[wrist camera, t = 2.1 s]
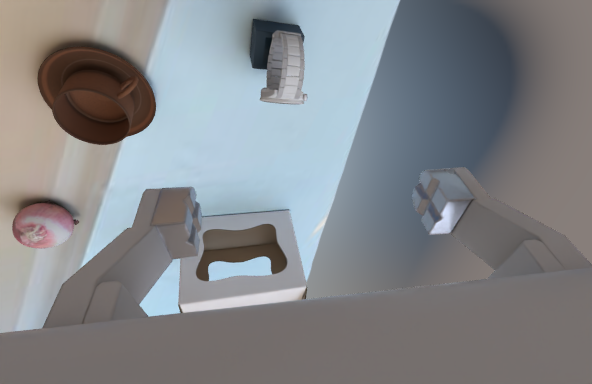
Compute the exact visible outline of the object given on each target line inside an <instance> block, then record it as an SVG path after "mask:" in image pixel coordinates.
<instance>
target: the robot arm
mask: <svg viewBox="0 0 592 384" xmlns="http://www.w3.org/2000/svg"><path fill="white" fill-rule="evenodd" d="M419 180H420V182H421V183H420V184H418V185H417V186H416V187H415V188H414V191H413V193H412V201H413V205H414V208H415V209H416V211H417V212H418V213H420V214H421V215H423V217H422V223H423V224H424V226H425V228H426V230H427V232H428V234H429V235H432V234H447V233H451V235H452V236H453V237H455V238H456V239H457V240H458V241H460V242H461V243H462V244H463V245H464V246H466V247H467V248H468V249H469V250H471V251H472V252H473V253H474V254H476V255H477V256H478V257H479V258H481V259H482V260H483V261H484V262H485V263H487V264H488V265H489V266H490V267H492V268H493V269H494V270H495V271H494V272H493V273H492V274H491V275H490V276H489V277H488V279H483V280H474V281H466V282H456V283H447V284H438V285H429V286H420V287H411V288H402V289H393V290H384V291H375V292H367V293H357V294H348V295H340V296H330V297H321V298H313V299H303V300H295V301H286V302H277V303H268V304H259V305H250V306H241V307H232V308H223V309H214V310H205V311H196V312H187V313H178V314H169V315H160V316H151V317H148V315H147V314H146V313H145V312H144V310H143V309H142V308H141V307H140V306H139V304H140V303H141V301H142V300H143V299H144V297H145V296H146V295H147V293H148V292H149V291H150V289H151V288H152V287H153V286H154V284H155V283H156V282H157V280H158V279H159V278H160V276H161V275H162V274H163V272H164V271H165V270H166V268H167V267H168V266H169V265H170V263H171V262H172V259H178V258H187V257H195V256H198V251H199V244H200V239H199V236H198V232H199V231H200V230H201V227H202V213H201V208H200V204H199V203H198V202H196V192H195V189H194V188H193V187H178V188H162V189H146V190H145V191H144V193H143V195H142V198H141V201H140V204H139V208H138V211H137V214H136V217H135V220H134V223H133V226H132V228H127V229H126V230H124V231H123V232H122V233H121V234H120V235H119V236H118V237H116V238H115V239H114V240H113V241H112V242H111V243H109V244H108V245H107V246H106V247H105V248H104V249H103V250H101V251H100V252H99V253H98V254H97V255H96V256H94V257H93V258H92V259H91V260H90V261H89V262H88V263H86V264H85V265H84V266H83V267H82V268H81V269H80V270H78V271H77V272H76V273H75V274H74V275H73V276H71V277H70V278H69V279H68V280H67V281H66V282H65V283H63V284H62V286H61V288H60V291H59V293H58V295H57V297H56V299H55V302H54V304H53V306H52V308H51V310H50V313H49V315H48V317H47V319H46V321H45V323H44V326H43V328H42V329H33V330H24V331H15V332H6V333H0V384H592V264H591V263H590V262H589V261H588V260H587V259H586V258H585V257H584V256H583V255H582V253H581V252H580V251H579V250H578V249H577V248H576V247H575V246H574V245H573V244H572V243H571V241H570V240H569V239H568V238H567V237H566V236H565V235H563V234H561V233H559V232H557V231H556V230H554V229H552V228H550V227H548V226H546V225H544V224H542V223H541V222H539V221H537V220H535V219H533V218H531V217H529V216H528V215H526V214H524V213H522V212H520V211H518V210H516V209H514V208H512V207H511V206H509V205H507V204H505V203H503V202H501V201H499V200H497V199H495V198H490V196H489V195H488V194H487V193H486V192H485V190H484V189H483V188H482V187H481V185H480V184H479V183H478V182H477V180H476V179H475V178H474V177H473V176H472V174H471V173H470V172H469V170H468V169H466V168H464V167H460V168H450V169H437V170H424V171H423V172H422V173H421V174H420V177H419Z"/></svg>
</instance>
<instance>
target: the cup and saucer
mask: <svg viewBox="0 0 592 384" xmlns="http://www.w3.org/2000/svg"><path fill="white" fill-rule="evenodd" d="M38 86H39V90H40V92H41V95H42V97H43V98H44V100H45V102H46V103H47V105H48V106H49V107H50V108H51V109H52V112H53V116H54V118H55V120H56V122H57V123H58V124H59V126H60V127H61V128H62V129H63V130H65V131H66V132H67V133H68V134H70V135H71V136H73V137H75V138H77V139H79V140H82V141H84V142H88V143H92V144H99V145H107V144H113V143H117V142H119V141H121V140H123V139H124V138H125V137H127V136H131V135H134V134H137V133H139V132H141V131H143V130H144V129H145V128H147V127H148V126H149V125H150V123H151V122H152V120H153V118H154V116H155V112H156V102H155V97H154V94H153V91H152V89H151V87H150V85H149V83H148V82H147V80H146V79H145V78H144V76H143V75H142V74H141V73H140V72H139V71H138V70H137V69H136V68H135V67H133V66H132V65H131V64H129V63H128V62H127V61H125V60H123V59H122V58H120V57H118V56H116V55H114V54H111V53H109V52H106V51H103V50H99V49H95V48H89V47H71V48H66V49H62V50H59V51H57V52H55V53H53V54H51V55H50V56H49V57H47V58H46V59H45V60H44V62H43V63H42V64H41V66H40V69H39V72H38Z"/></svg>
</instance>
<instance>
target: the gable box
mask: <svg viewBox="0 0 592 384" xmlns="http://www.w3.org/2000/svg"><path fill="white" fill-rule="evenodd" d="M198 236H199V239H200V244H199V251H198V256H195V257H187V258H181V260H180V281H179V302H178V306H179V309H180V313H187V312H196V311H205V310H214V309H223V308H232V307H241V306H250V305H259V304H268V303H277V302H286V301H295V300H303V299H306V293H307V284H306V279H305V275H304V271H303V267H302V262H301V258H300V254H299V249H298V245H297V241H296V237H295V232H294V228H293V224H292V219H291V215H290V211H289V210H283V211H271V212H259V213H246V214H234V215H222V216H210V217H202V227H201V230H200V231H199V232H198ZM261 256H266V257H268V258H269V259H270V260H271V272H272V274H273V275H267V276H233V277H229V278H225V279H221V280H216V281H209V274H208V266H209V264H210V263H212V262H214V261H224V262H233V263H235V262H244V261H248V260H251V259H253V258H257V257H261Z"/></svg>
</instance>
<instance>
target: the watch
mask: <svg viewBox="0 0 592 384" xmlns="http://www.w3.org/2000/svg"><path fill="white" fill-rule="evenodd" d="M303 41H304V35H303V33H302V31H301V29H300V27H299V26H298V25H291V24H284V23H277V22H270V21H264V20H257V19H253V27H252V38H251V49H250V59H251V63H252V68H256V69H266V70H267V88H262V90H261V98H260V100H261V101H264V102H270V103H280V104H304V101H306V100H307V94H303V92H302V91H301V89H302V85H303V79H304V68H305V61H304V47H303ZM298 66H299V67H298ZM286 75H288V76H286ZM272 76H273V77H272ZM297 76H298V77H297Z"/></svg>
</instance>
